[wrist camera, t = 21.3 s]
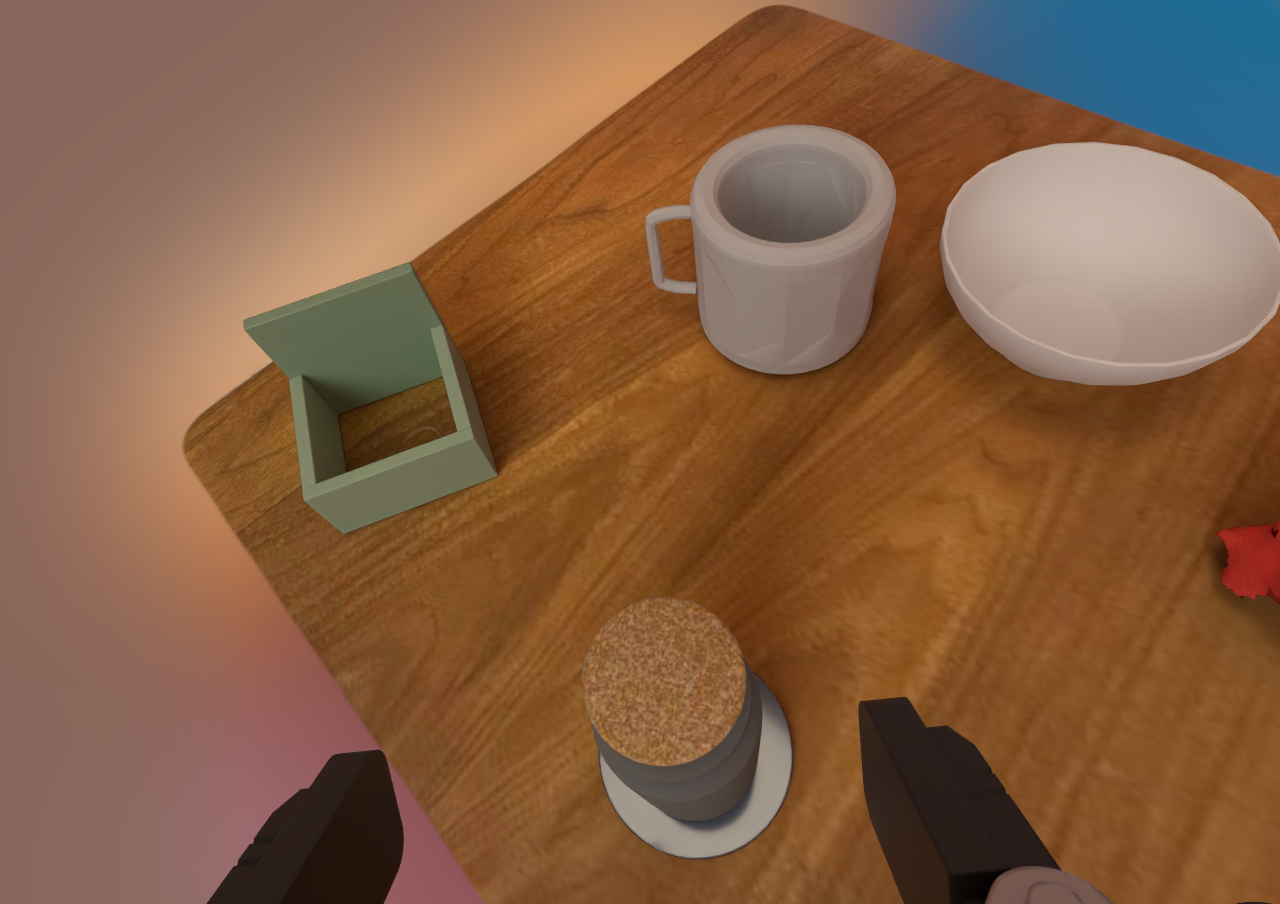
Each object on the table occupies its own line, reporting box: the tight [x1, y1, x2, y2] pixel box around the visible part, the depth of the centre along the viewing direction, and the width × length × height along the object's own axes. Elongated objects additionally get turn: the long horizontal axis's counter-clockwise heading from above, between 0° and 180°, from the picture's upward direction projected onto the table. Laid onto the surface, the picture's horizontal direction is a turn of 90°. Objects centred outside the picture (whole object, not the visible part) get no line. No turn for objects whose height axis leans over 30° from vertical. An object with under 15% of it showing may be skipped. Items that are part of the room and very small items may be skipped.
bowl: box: [939, 142, 1280, 386], centre depth 40 cm, size 16×16×7 cm
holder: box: [243, 262, 498, 534], centre depth 41 cm, size 10×10×9 cm
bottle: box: [582, 597, 763, 821], centre depth 27 cm, size 6×6×15 cm
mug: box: [645, 125, 896, 374], centre depth 42 cm, size 14×11×10 cm
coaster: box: [599, 672, 793, 859], centre depth 33 cm, size 9×9×1 cm
